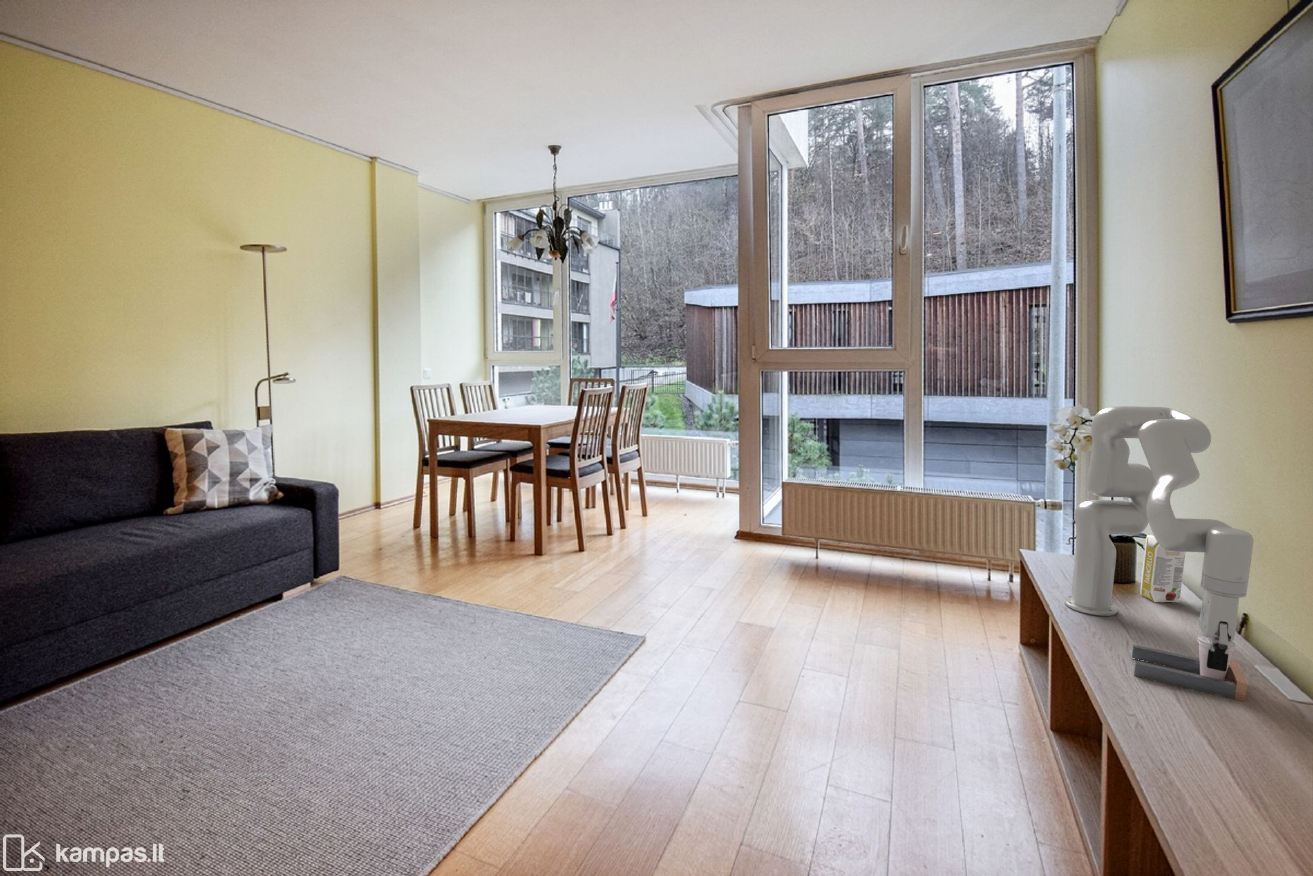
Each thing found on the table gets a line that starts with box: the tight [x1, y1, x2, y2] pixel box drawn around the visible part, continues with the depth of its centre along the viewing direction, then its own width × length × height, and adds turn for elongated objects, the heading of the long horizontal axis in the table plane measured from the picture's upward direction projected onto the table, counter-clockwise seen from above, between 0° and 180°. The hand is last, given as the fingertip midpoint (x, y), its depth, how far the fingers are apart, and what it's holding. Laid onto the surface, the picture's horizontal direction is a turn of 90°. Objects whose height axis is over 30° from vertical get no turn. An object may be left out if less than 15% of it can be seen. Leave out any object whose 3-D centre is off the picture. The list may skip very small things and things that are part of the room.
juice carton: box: [1140, 534, 1187, 603], centre depth 187 cm, size 8×9×19 cm
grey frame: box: [1131, 644, 1248, 703], centre depth 142 cm, size 12×19×4 cm, turn 55°
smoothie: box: [1196, 626, 1237, 681], centre depth 138 cm, size 6×6×14 cm
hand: (1213, 662), depth 139 cm, fingers closed on smoothie, 6 cm apart
